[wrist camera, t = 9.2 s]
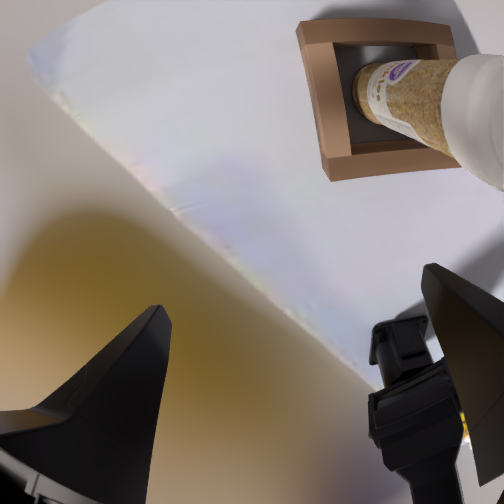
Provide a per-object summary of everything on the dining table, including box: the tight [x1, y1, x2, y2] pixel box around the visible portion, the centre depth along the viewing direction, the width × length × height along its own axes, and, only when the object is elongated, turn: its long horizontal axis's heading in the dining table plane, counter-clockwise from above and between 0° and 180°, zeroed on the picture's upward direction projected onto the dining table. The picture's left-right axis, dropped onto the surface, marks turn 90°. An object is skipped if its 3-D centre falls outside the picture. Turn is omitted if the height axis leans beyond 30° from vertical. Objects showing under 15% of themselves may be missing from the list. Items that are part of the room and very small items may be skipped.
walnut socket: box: [296, 18, 462, 182], centre depth 15 cm, size 10×10×3 cm
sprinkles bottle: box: [352, 54, 504, 192], centre depth 11 cm, size 5×5×13 cm
